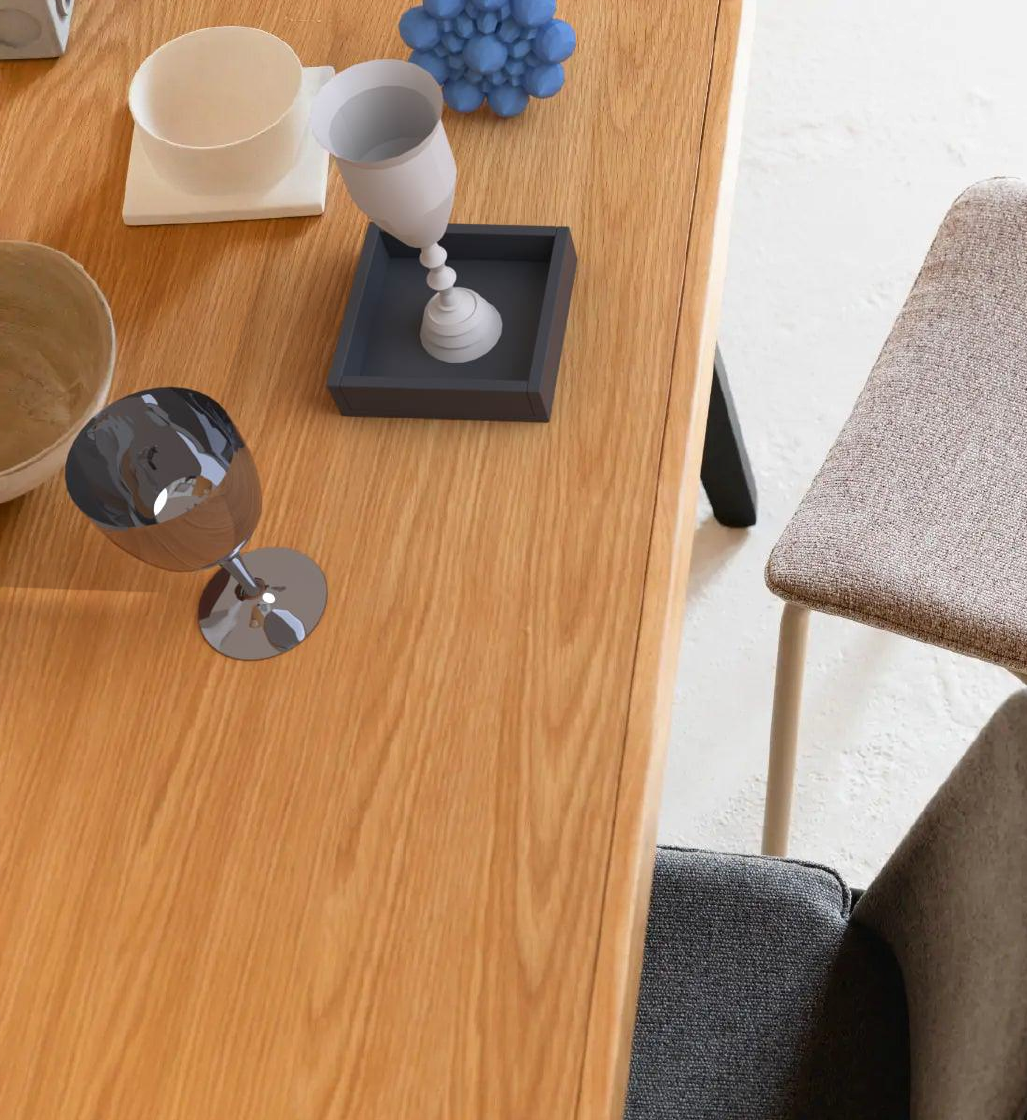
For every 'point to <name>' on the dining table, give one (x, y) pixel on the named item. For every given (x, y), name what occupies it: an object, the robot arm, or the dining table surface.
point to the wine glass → (194, 515)
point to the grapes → (489, 51)
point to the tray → (397, 314)
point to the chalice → (405, 185)
